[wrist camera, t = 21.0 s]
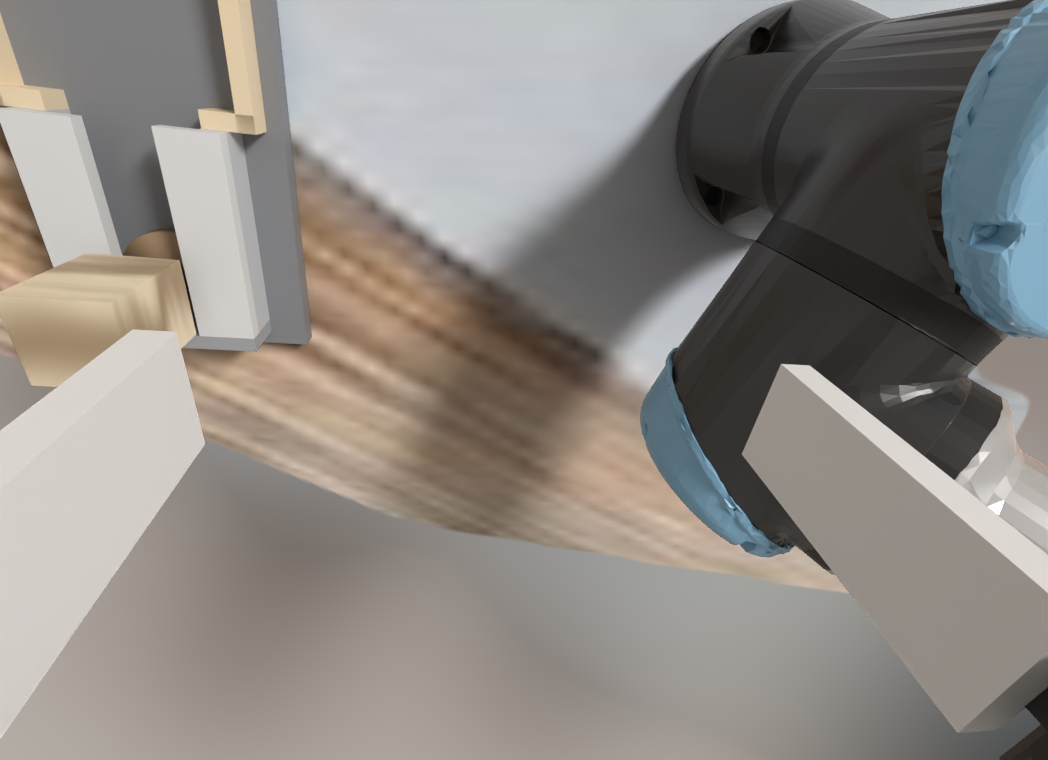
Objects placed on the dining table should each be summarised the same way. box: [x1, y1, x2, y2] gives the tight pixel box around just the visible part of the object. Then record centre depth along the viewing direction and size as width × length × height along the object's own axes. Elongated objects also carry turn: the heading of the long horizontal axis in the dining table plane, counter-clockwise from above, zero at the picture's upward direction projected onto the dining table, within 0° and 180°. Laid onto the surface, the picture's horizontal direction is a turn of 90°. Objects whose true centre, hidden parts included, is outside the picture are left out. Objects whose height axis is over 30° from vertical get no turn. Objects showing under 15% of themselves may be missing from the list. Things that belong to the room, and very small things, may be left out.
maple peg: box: [0, 229, 196, 387], centre depth 30 cm, size 6×6×12 cm
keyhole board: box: [0, 0, 312, 352], centre depth 30 cm, size 28×16×5 cm, turn 173°
